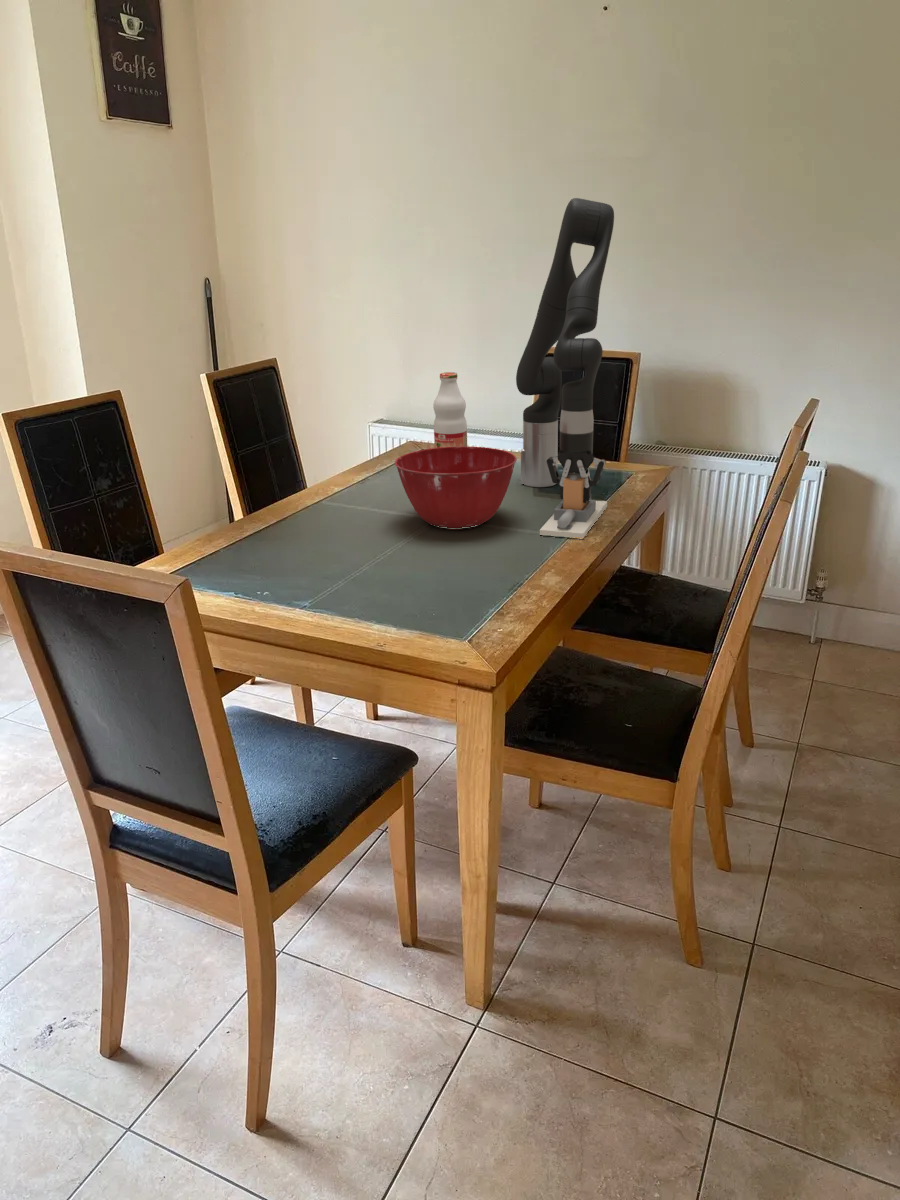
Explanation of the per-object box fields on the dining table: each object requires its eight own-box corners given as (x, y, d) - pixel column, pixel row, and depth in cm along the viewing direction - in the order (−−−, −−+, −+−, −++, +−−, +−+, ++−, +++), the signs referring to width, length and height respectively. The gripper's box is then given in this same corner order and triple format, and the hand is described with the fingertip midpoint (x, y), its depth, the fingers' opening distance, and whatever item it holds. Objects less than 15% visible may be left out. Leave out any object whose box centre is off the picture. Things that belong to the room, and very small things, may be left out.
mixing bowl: (414, 503, 232) (411, 443, 226) (524, 506, 227) (524, 445, 221) (384, 538, 207) (380, 472, 201) (508, 542, 201) (507, 474, 195)
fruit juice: (474, 470, 261) (472, 372, 251) (454, 477, 254) (451, 376, 244) (449, 466, 267) (445, 369, 256) (428, 473, 260) (424, 374, 249)
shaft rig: (539, 536, 204) (539, 505, 201) (567, 504, 226) (567, 476, 224) (583, 539, 201) (584, 508, 198) (607, 507, 223) (607, 478, 220)
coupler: (569, 505, 216) (570, 469, 213) (586, 507, 215) (587, 470, 211) (562, 513, 210) (563, 476, 207) (580, 514, 209) (581, 477, 206)
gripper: (611, 426, 206) (608, 499, 213) (550, 424, 211) (549, 495, 217) (604, 433, 200) (602, 508, 206) (541, 431, 204) (541, 504, 211)
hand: (575, 501), depth 212 cm, fingers closed on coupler, 4 cm apart
